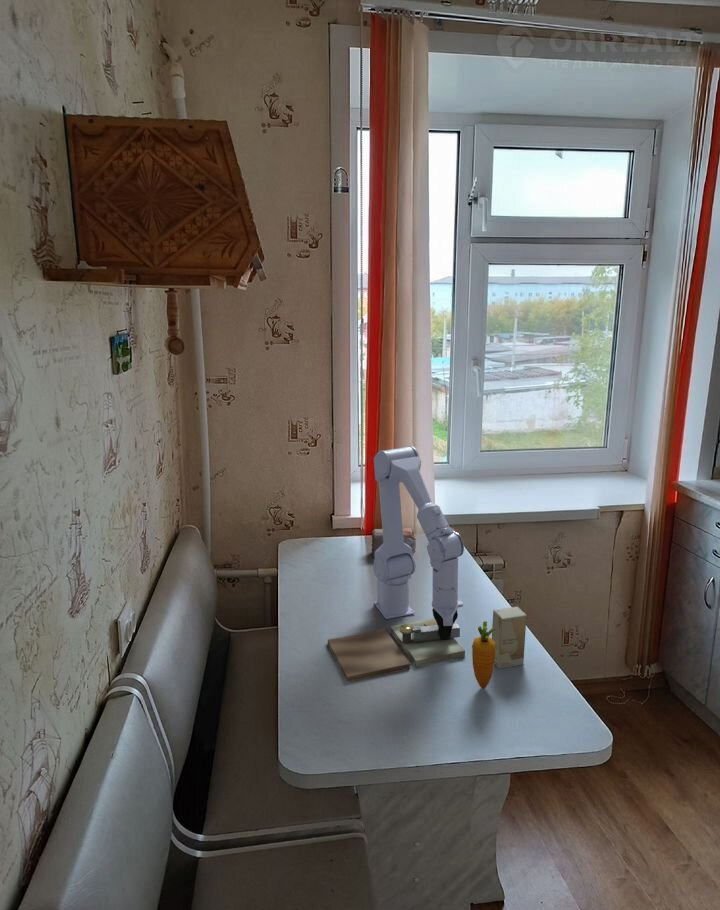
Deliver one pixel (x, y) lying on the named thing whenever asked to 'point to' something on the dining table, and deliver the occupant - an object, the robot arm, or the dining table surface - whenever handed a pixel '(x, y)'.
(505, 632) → the skincare box
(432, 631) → the swing bar
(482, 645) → the carrot
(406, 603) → the robot arm
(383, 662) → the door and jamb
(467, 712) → the dining table surface
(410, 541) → the food item
